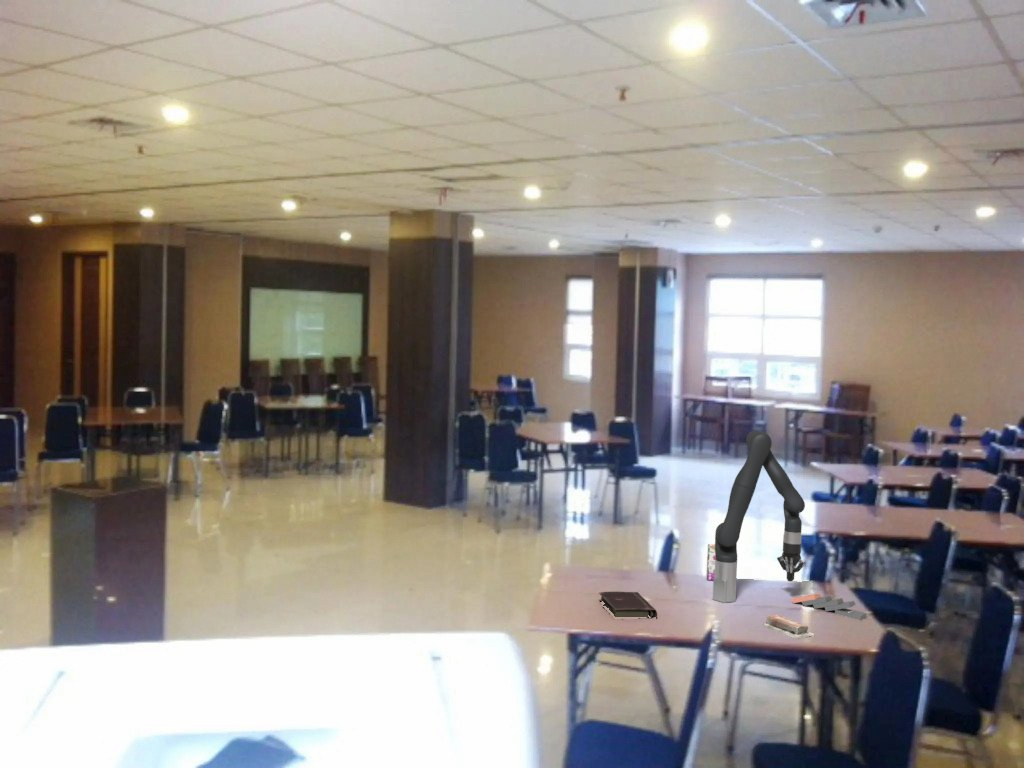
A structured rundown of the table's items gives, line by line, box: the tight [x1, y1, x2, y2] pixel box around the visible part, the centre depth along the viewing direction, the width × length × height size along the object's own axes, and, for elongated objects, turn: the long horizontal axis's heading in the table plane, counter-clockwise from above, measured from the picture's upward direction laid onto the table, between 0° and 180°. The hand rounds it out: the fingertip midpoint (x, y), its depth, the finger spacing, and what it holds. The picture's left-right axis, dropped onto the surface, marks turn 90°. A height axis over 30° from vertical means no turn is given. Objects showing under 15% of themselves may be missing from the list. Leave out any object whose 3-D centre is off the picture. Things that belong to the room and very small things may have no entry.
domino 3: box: [812, 597, 844, 610], centre depth 398 cm, size 2×5×11 cm
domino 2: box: [801, 595, 833, 607], centre depth 402 cm, size 2×5×11 cm
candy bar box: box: [705, 543, 715, 582], centre depth 441 cm, size 11×5×16 cm, turn 84°
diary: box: [598, 591, 658, 618], centre depth 392 cm, size 19×25×5 cm
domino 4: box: [824, 600, 856, 612], centre depth 395 cm, size 2×5×11 cm
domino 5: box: [834, 608, 867, 621], centre depth 391 cm, size 2×5×11 cm
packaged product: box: [762, 613, 815, 640], centre depth 370 cm, size 18×5×10 cm
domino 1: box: [790, 592, 822, 604], centre depth 405 cm, size 2×5×11 cm
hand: (790, 580), depth 410 cm, fingers closed
